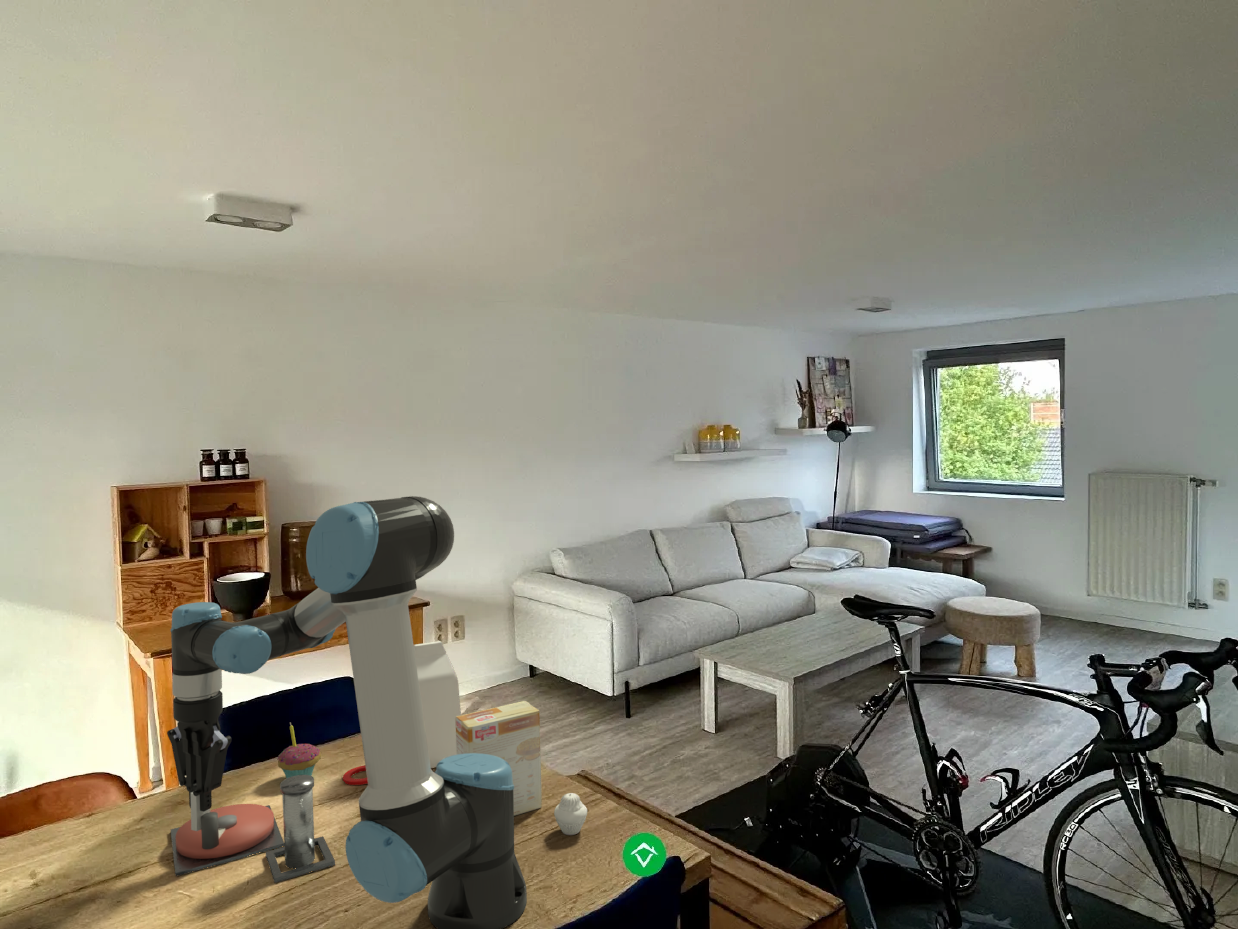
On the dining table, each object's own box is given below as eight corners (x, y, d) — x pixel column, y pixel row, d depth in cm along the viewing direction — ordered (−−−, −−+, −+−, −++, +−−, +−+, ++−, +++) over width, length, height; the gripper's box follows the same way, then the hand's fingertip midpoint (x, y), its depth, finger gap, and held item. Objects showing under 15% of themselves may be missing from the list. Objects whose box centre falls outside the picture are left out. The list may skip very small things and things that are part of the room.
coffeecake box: (527, 794, 160) (525, 699, 159) (543, 808, 154) (541, 710, 153) (456, 814, 152) (454, 715, 151) (470, 830, 146) (468, 727, 145)
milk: (410, 772, 171) (407, 654, 169) (398, 753, 181) (394, 641, 179) (464, 760, 176) (461, 645, 175) (449, 742, 186) (446, 633, 185)
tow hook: (336, 788, 165) (380, 786, 165) (331, 727, 164) (375, 725, 164) (352, 770, 173) (393, 768, 173) (347, 712, 173) (389, 710, 172)
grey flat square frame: (335, 865, 135) (335, 860, 135) (274, 883, 130) (274, 878, 130) (323, 840, 143) (323, 836, 143) (265, 856, 138) (265, 852, 138)
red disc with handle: (198, 816, 151) (196, 779, 151) (285, 810, 153) (284, 774, 152) (158, 863, 135) (156, 822, 134) (256, 856, 137) (255, 816, 136)
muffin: (547, 834, 144) (546, 796, 144) (566, 819, 150) (565, 783, 149) (576, 843, 141) (575, 804, 141) (594, 827, 146) (593, 790, 146)
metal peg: (319, 863, 136) (316, 784, 135) (286, 873, 133) (282, 792, 132) (313, 849, 140) (310, 772, 140) (280, 858, 137) (277, 780, 137)
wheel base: (284, 846, 141) (284, 843, 141) (175, 876, 132) (175, 873, 132) (269, 808, 156) (269, 805, 156) (170, 832, 147) (170, 829, 147)
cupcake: (269, 785, 166) (267, 728, 165) (296, 767, 174) (294, 714, 173) (303, 790, 163) (301, 733, 163) (330, 772, 171) (328, 718, 171)
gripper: (243, 692, 137) (246, 824, 138) (190, 682, 142) (193, 810, 143) (206, 706, 130) (209, 845, 131) (151, 695, 135) (155, 829, 136)
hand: (201, 827), depth 137 cm, fingers closed
